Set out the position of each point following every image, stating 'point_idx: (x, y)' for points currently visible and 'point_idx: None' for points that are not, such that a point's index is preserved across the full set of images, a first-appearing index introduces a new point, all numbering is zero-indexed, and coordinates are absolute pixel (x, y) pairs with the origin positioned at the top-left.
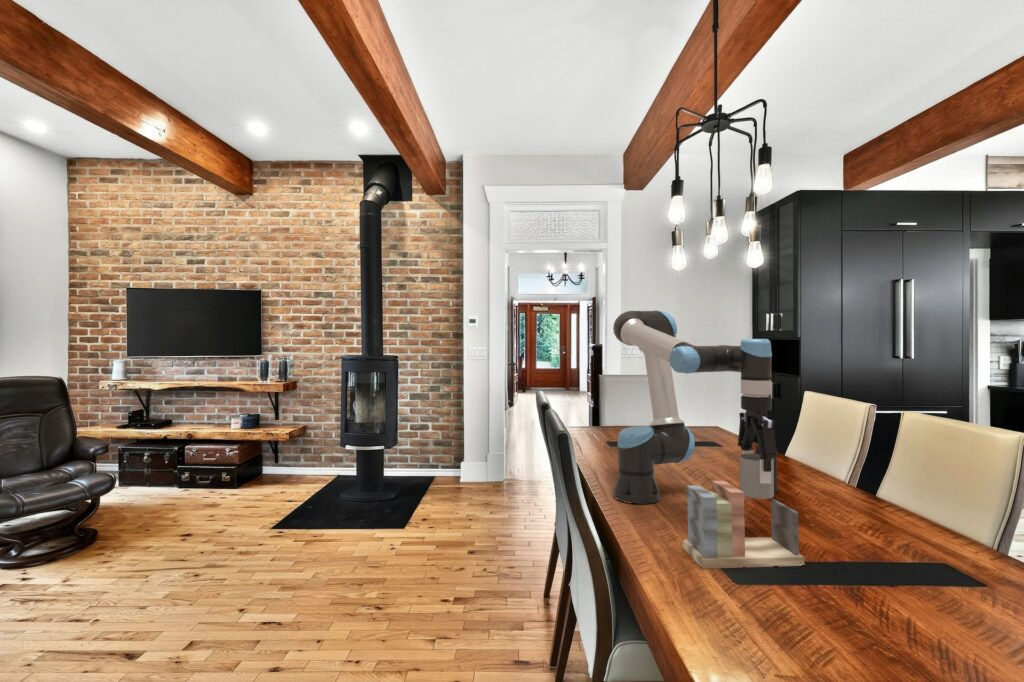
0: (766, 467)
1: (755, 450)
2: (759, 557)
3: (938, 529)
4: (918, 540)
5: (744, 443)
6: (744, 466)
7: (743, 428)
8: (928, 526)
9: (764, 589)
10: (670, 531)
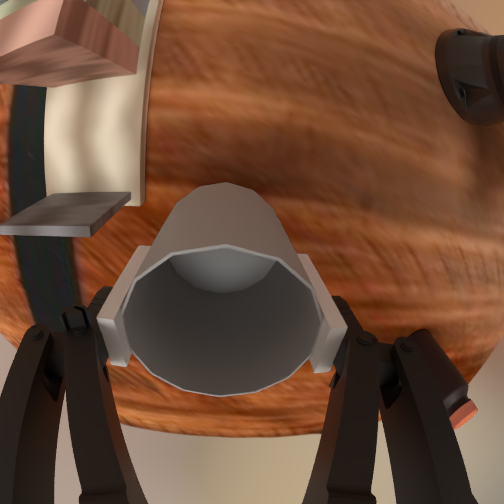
0: (92, 301)
1: (463, 380)
2: (47, 115)
3: (208, 433)
4: (171, 406)
5: (347, 372)
6: (193, 227)
7: (421, 462)
8: (219, 432)
9: (3, 95)
10: (265, 3)
